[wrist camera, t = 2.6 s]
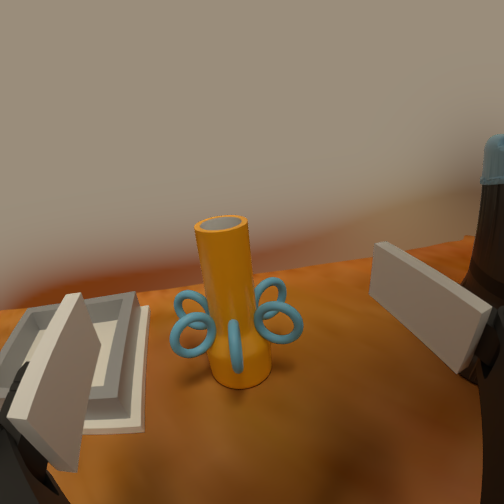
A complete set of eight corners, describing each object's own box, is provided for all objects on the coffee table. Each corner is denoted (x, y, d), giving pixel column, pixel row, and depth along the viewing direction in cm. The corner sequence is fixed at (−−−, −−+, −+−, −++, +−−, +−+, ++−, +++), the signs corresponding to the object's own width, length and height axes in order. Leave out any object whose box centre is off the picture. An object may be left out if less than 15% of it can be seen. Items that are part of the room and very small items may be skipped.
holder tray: (150, 311, 38) (143, 286, 37) (144, 432, 20) (127, 405, 19) (35, 327, 35) (25, 305, 33) (-10, 425, 17) (-31, 401, 15)
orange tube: (219, 433, 20) (174, 274, 15) (166, 367, 28) (125, 231, 22) (322, 364, 27) (329, 216, 21) (257, 321, 35) (245, 197, 29)
